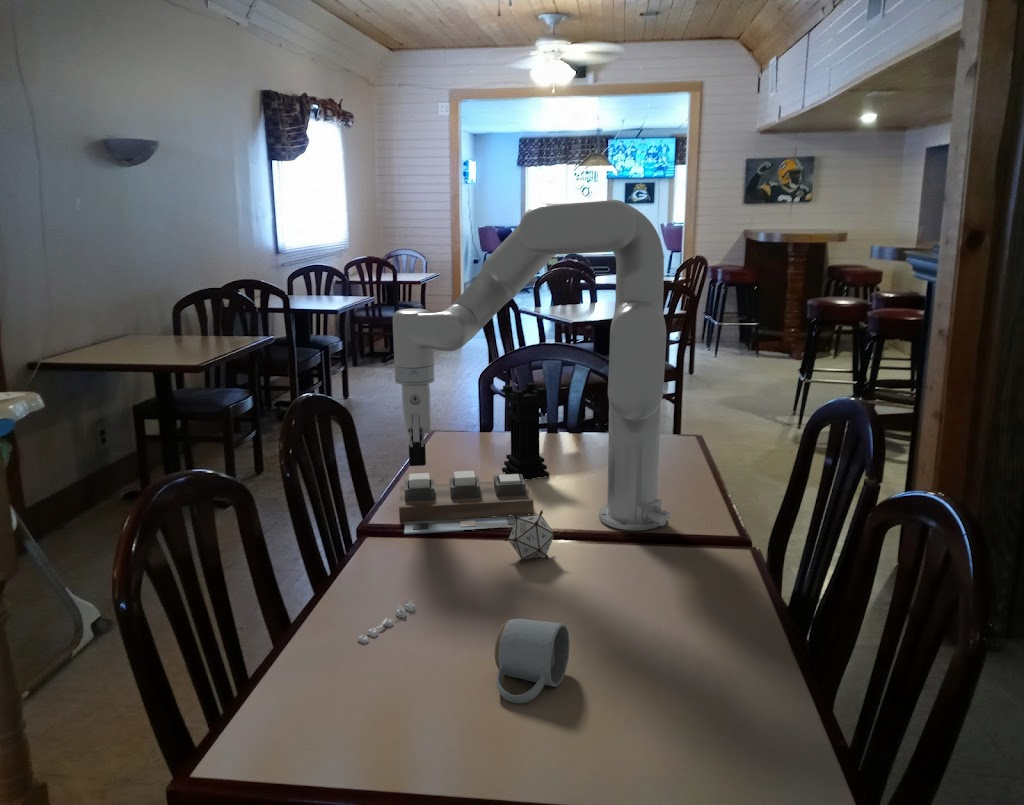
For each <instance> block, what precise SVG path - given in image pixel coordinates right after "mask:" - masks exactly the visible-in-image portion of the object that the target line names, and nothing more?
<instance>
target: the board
mask: <svg viewBox="0 0 1024 805" xmlns="http://www.w3.org/2000/svg"><path fill="white" fill-rule="evenodd" d="M499 475H500V474H499ZM499 475H493V481H483V482H481V481H480V478H479V476H475V485H472V486H455V483H454V477H449V483H441V484H439V483H438V484H435V479H434V478H429V480H430V488H412V489H409V479H405V480H404V485H402V486H400V491H399V505H398V516H399V523H404V530H403V534H404V535H413V534H414V535H415V534H430V533H431V534H432V533H451V532H465V531H464V530H472V531H476V530H475V529H487V528H499V527H501V528H503V527H513V525H514V523H515V520H516V518H515V517H514V516H509V515H514V514H515V515H523V516H517V517H525V516H529V515H528V514H533V515H534V499H533V496H532V494H531V491H530V488H529V486H528V483H527V480H524V478H523V476H522V474H518V475H519V478H520V483H512V484H499ZM492 516H504V517H492ZM479 517H486V518H479ZM464 518H467V519H464Z"/></svg>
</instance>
